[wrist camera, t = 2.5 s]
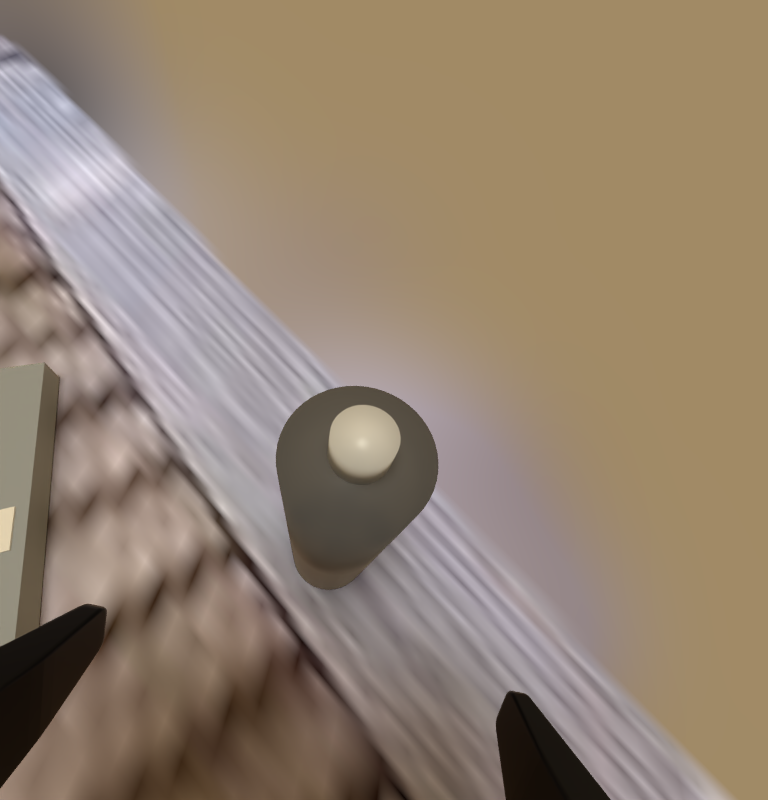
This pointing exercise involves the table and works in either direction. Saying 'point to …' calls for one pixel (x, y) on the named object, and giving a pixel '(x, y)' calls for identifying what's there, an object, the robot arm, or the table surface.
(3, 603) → the board
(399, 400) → the bottle
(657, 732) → the table surface
